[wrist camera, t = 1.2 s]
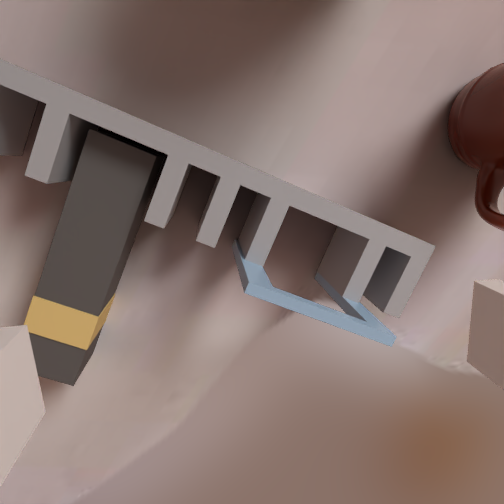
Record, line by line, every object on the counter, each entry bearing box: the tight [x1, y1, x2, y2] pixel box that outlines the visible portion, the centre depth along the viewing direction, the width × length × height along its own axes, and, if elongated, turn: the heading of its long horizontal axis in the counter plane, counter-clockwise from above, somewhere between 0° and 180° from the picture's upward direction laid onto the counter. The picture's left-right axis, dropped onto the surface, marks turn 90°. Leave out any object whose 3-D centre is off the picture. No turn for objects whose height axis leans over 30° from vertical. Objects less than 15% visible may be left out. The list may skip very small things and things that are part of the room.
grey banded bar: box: [24, 129, 164, 386], centre depth 26 cm, size 4×16×5 cm, turn 158°
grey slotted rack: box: [0, 59, 436, 318], centre depth 26 cm, size 28×5×6 cm, turn 67°
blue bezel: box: [232, 239, 396, 346], centre depth 25 cm, size 8×1×11 cm, turn 68°
